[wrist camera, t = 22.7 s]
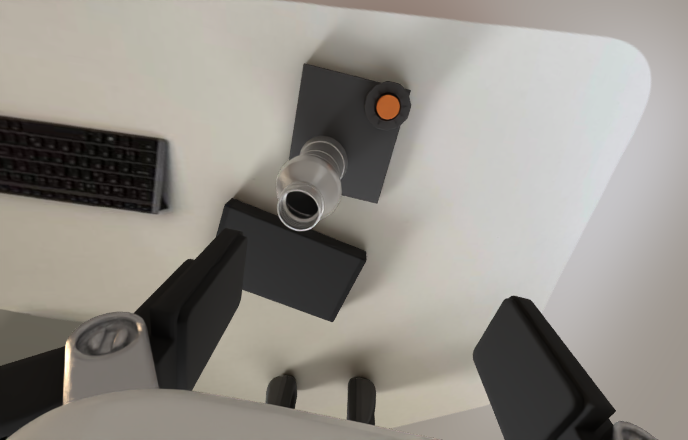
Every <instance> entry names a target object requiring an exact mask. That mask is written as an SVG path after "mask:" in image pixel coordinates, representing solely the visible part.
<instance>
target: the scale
mask: <svg viewBox="0 0 688 440" xmlns="http://www.w3.org/2000/svg"><path fill="white" fill-rule="evenodd" d="M410 91H411V90H407V89H404V88H403V87H402V86H401V85H400V84H398V83H394V82H390V81H386V82H383V83H380V82H376V81H372V80H368V79H364V78H360V77H356V76H352V75H348V74H344V73H340V72H336V71H332V70H328V69H324V68H320V67H316V66H313V65H309V64H305V63H304V65H303V72H302V78H301V85H300V91H299V98H298V105H297V111H296V118H295V124H294V131H293V137H292V144H291V151H290V157H289V160H291V159H292V158H294V157H296V156H300V152H301V149H302V147H303V146H304V144H305V143H306V142H307V141H308V140H310V139H312V138H314V137H317V136H327V137H331V138H333V139H335V140H336V141H338V142H339V143H340V144H341V145H342V147H343V148H344V150H345V152H346V155H347V159H348V165H347V170H346V173H345V174H344V176H343V177H342V179H341V187H342V192H341V195H343V196H347V197H351V198H356V199H360V200H364V201H369V202H373V203H378V200H379V196H380V193H381V189H382V186H383V183H384V179H385V176H386V172H387V169H388V166H389V162H390V159H391V156H392V152H393V149H394V145H395V142H396V139H397V135H398V132H399V129H400V125H401V124H402V123H403V122H404V121H405V120H406V119H407V118H408V114H409V111H410V108H411V103H410V98H409V95H410ZM384 95H392V96H394V97H396V98H397V99H398V101H399V104H400V109H399V112H398V114H397V115H396V116H395V117H394V118H392V119H384V118H382V117H380V115H379V114H378V112H377V109H376V105H377V102H378V100H379V99H380V98H381V97H382V96H384Z"/></svg>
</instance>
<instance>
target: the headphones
mask: <svg viewBox="0 0 688 440" xmlns="http://www.w3.org/2000/svg"><path fill="white" fill-rule="evenodd" d="M296 399H297V387H296V381H295V378H294V377H293V376H288V375H283V376H278V377H275V378H273V379H272V380H271V381H270V383H269V385H268V387H267V391H266V404H271V405H276V406H281V407H286V408H291V409H295V404H296ZM375 405H376V390H375V387H374V385H373V383H372V382H371V381H370V380H368V379H361V377H357V379H356V378H351V379H350V381H349V383H348V403H347V420H350V421H355V422H360V423H365V424H369V425H374V426H375V417H374V412H375Z"/></svg>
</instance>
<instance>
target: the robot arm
mask: <svg viewBox="0 0 688 440" xmlns="http://www.w3.org/2000/svg"><path fill="white" fill-rule="evenodd" d="M247 242H248V238H247V237H245V236H243V232H242V231H238V230H234V229H230V228H224V229H223V230H222V231H221V233H220V234H219V235H218V236H217V237H216V238H215V239H214V240H213V241H212V242H211V243H210V244H209V245H208V246H207V247H206V248H205V249H204V251H203V252H202V253H201V254H200V255H199V256H198V257H197V258H196V259H195V260H193V259H188V260H186V261H185V262H184V263H183V264H182V265H181V266H180V267H179V268H178V269H177V270H176V271H175V272H174V273H173V274H172V275H171V276H170V277H169V278H168V279H167V280H166V281H165V282H164V283H163V284H162V285H161V286H160V287H159V288H158V289H157V290H156V291H155V292H154V293H153V294H152V295H151V296H150V297H149V298H148V299H147V300H146V301H145V302H144V303H143V304H142V305H141V306H140V307H139V308H138V309H137V310H136V311H135V312H134V313H130V312H112V313H106V314H103V315H99V316H96V317H94V318H92V319H90V320H88V321H86V322H84V323H83V324H81V325H80V326H79V327H77V328H76V329H75V330H74V331H73V332H72V334H71V335H70V336H69V337H68V340H67V343H66V346H64V347H61V348H58V349H54V350H51V351H48V352H45V353H41V354H38V355H35V356H32V357H28V358H25V359H22V360H18V361H15V362H12V363H9V364H6V365H2V366H0V440H441V439H436V438H431V437H427V436H422V435H417V434H412V433H408V432H402V431H398V430H393V429H388V428H384V427H379V426H374V425H369V424H365V423H360V422H355V421H350V420H345V419H340V418H335V417H330V416H325V415H320V414H316V413H311V412H306V411H301V410H296V409H291V408H286V407H281V406H276V405H271V404H266V403H260V402H255V401H250V400H244V399H239V398H233V397H228V396H223V395H217V394H210V393H203V392H196V391H192V389H193V388H194V386H195V384H196V382H197V380H198V378H199V377H200V375H201V373H202V371H203V369H204V368H205V366H206V364H207V362H208V360H209V359H210V357H211V355H212V353H213V351H214V350H215V348H216V346H217V344H218V342H219V341H220V339H221V337H222V335H223V333H224V332H225V330H226V328H227V326H228V324H229V323H230V321H231V319H232V317H233V315H234V313H235V312H236V310H237V308H238V306H239V303H240V300H241V295H242V286H243V277H244V268H245V260H246V251H247ZM473 360H474V363H475V365H476V368H477V370H478V373H479V376H480V378H481V381H482V383H483V386H484V388H485V391H486V393H487V396H488V398H489V401H490V403H491V406H492V408H493V411H494V414H495V416H496V419H497V421H498V424H499V426H500V429H501V431H502V434H503V436H504V439H505V440H657V439H656V438H655V437H654V436H652V435H651V434H650V433H648V432H647V431H645V430H643V429H642V428H640V427H638V426H636V425H634V424H631V423H629V422H624V421H619V422H616V423H615V424H614V425H613V424H612V423H611V421H610V420H609V417H610V416H611V415H613V414H614V413H615V411H616V410H615V409H614V408H613V407H612V405H611V404H610V403H609V401H608V400H607V399H606V397H605V396H604V395H603V393H602V392H601V391H600V389H599V388H598V387H597V386H596V385H595V383H594V382H593V380H592V379H591V378H590V377H589V375H588V374H587V372H586V371H585V370H584V369H583V367H582V366H581V365H580V363H579V362H578V361H577V359H576V358H575V357H574V356H573V354H572V353H571V352H570V350H569V349H568V348H567V346H566V345H565V344H564V343H563V341H562V340H561V339H560V337H559V336H558V335H557V333H556V332H555V331H554V329H553V328H552V327H551V325H550V324H549V323H548V322H547V320H546V319H545V318H544V316H543V315H542V314H541V312H540V311H539V310H538V308H537V307H536V306H535V305H534V303H533V302H532V301H531V300H529V299H526V298H521V297H517V296H511V297H509V298H508V299H505V300H504V301H503V302H502V304H501V306H500V307H499V309H498V311H497V312H496V314H495V316H494V317H493V319H492V321H491V322H490V324H489V326H488V327H487V329H486V331H485V332H484V334H483V336H482V337H481V339H480V341H479V342H478V344H477V346H476V347H475V349H474V351H473Z"/></svg>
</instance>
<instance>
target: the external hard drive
mask: <svg viewBox="0 0 688 440" xmlns="http://www.w3.org/2000/svg"><path fill="white" fill-rule="evenodd" d="M224 228H230V229H234V230H238V231H242V232H243V236H245V237H247V238H248V242H247V251H246V260H245V268H244V277H243V286H242V290H245V291H248V292H250V293H253V294H256V295H259V296H261V297H264V298H267V299H270V300H272V301H275V302H278V303H281V304H284V305H286V306H289V307H292V308H295V309H297V310H300V311H303V312H306V313H308V314H311V315H314V316H317V317H319V318H322V319H325V320H328V321H330V322H333V321H334V320H335V318H336V316H337V314H338V312H339V310H340V308H341V307H342V305H343V303H344V301H345V299H346V297H347V295H348V294H349V292H350V290H351V288H352V286H353V284H354V283H355V281H356V279H357V277H358V275H359V273H360V271H361V270H362V268H363V266H364V264H365V262H366V251H364V250H361V249H359V248H356V247H354V246H351V245H349V244H346V243H344V242H341V241H339V240H336V239H334V238H331V237H328V236H326V235H323V234H321V233H318V232H316V231H313V230H311V229H309V230H306V231H296V230H293V229H290V228H289V227H287V226H286V225H285V224H284V223H283V222H282V221H281V219H280V218H279V217H278V216H276V215H273V214H271V213H268V212H266V211H263V210H261V209H258V208H256V207H253V206H251V205H248V204H246V203H243V202H241V201H238V200H236V199H233V198H232V199H230V200H229V201H228V202H227V203H226V204H225V206H224V209H223V213H222V217H221V220H220V224H219V228H218V231H217V235H216V237H217V236H218V235H219V234H220V233H221V231H222V230H223V229H224Z"/></svg>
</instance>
